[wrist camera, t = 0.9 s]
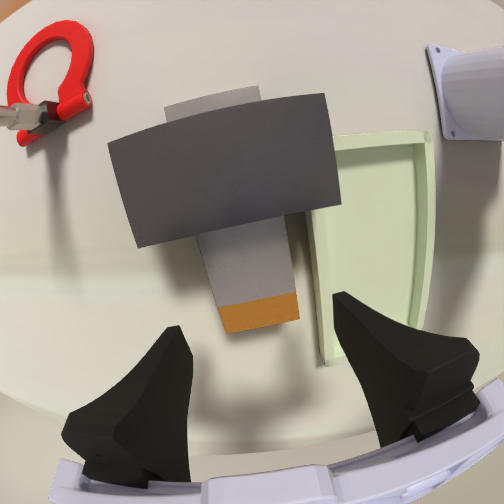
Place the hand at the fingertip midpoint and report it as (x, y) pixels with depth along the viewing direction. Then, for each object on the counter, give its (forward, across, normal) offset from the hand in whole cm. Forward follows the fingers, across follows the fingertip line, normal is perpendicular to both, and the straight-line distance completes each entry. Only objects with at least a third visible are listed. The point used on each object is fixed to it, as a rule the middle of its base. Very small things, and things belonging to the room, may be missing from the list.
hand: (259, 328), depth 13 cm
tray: (+8, -9, +2) cm, 12 cm away
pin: (+8, 0, -4) cm, 9 cm away
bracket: (+8, 0, -7) cm, 10 cm away
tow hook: (+8, +11, -18) cm, 22 cm away
